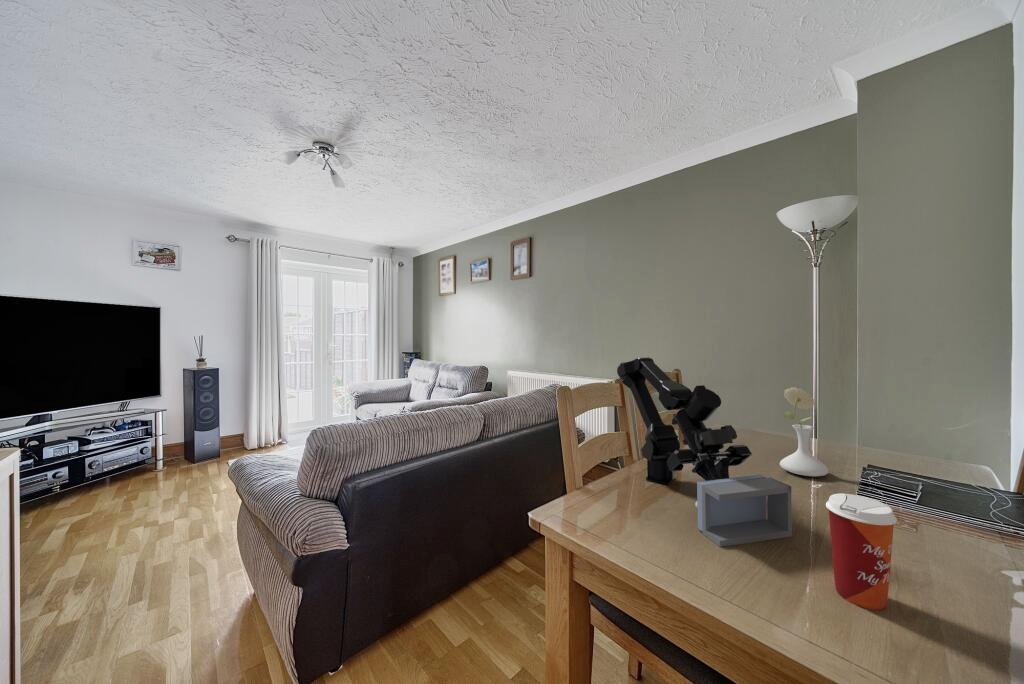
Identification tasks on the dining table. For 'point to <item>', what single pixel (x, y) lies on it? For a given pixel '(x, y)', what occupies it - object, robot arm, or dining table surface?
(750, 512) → the door
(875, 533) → the coffee cup
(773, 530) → the cabinet
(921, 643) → the dining table surface
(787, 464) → the flower in vase
